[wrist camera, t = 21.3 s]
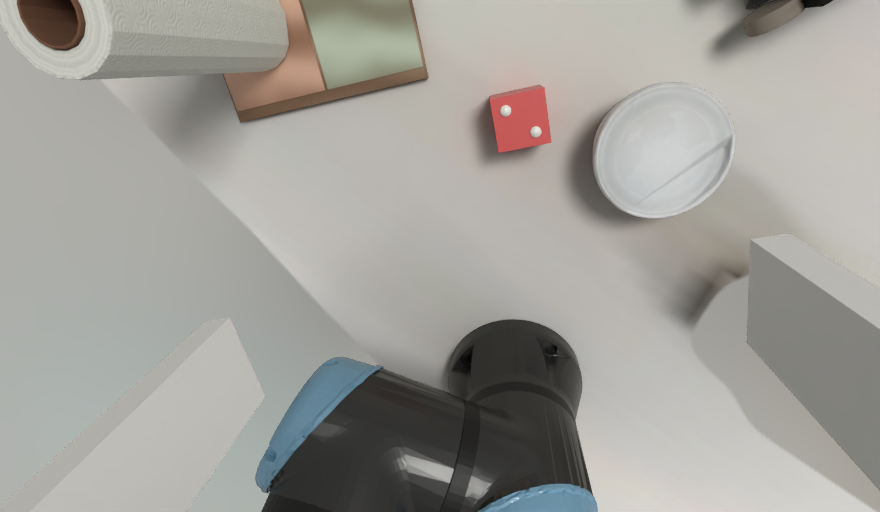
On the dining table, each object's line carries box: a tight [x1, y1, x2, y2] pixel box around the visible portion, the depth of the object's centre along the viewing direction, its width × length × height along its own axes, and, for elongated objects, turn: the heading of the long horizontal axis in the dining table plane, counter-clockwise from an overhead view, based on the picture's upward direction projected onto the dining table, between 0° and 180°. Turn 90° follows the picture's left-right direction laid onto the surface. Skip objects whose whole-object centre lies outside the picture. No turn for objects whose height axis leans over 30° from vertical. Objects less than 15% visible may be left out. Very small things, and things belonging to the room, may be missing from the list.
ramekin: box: [593, 82, 736, 219], centre depth 40 cm, size 11×11×5 cm
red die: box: [490, 85, 551, 153], centre depth 40 cm, size 4×4×5 cm
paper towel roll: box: [0, 0, 289, 80], centre depth 31 cm, size 7×6×21 cm
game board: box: [223, 0, 428, 122], centre depth 41 cm, size 14×19×1 cm
